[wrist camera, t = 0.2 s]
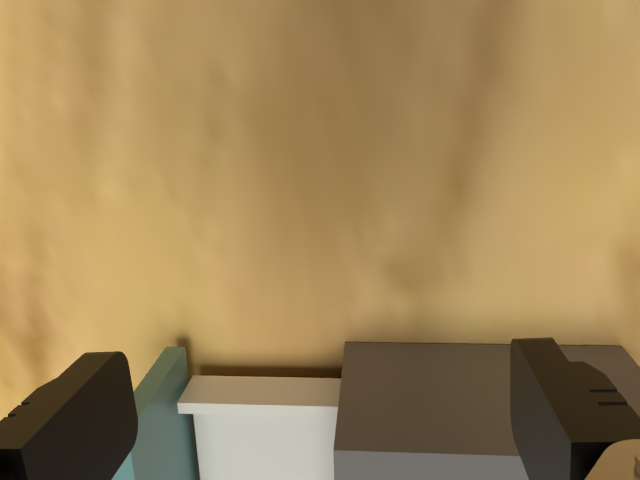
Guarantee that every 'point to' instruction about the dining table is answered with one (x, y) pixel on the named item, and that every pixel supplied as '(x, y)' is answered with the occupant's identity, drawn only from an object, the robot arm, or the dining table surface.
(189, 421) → the drawer
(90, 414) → the robot arm
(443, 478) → the housing
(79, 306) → the dining table surface
